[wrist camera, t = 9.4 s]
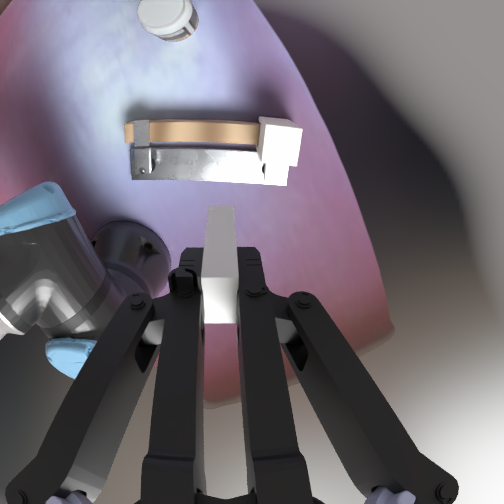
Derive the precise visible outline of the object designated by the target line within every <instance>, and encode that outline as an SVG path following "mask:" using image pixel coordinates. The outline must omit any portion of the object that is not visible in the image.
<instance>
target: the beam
mask: <svg viewBox="0 0 504 504" xmlns="http://www.w3.org/2000/svg"><path fill="white" fill-rule="evenodd" d="M124 126H125V143H129V142H134V121H131V122H128V123H126V124H124ZM260 126H261V123H256V122H244V121H228V120H203V119H162V120H150V142H161V141H189V142H221V143H239V144H253V145H258V144H259V135H260Z"/></svg>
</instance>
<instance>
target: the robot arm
mask: <svg viewBox="0 0 504 504" xmlns="http://www.w3.org/2000/svg"><path fill="white" fill-rule="evenodd" d="M170 271H171V258H170V254H169V251H168V249H167V247H166V246H165V244H164V243H163V241H162V240H161V239H160V238H159V237H158V236H157V235H156V234H155V233H154V232H152V231H151V230H150V229H148V228H146V227H144V226H142V225H140V224H137V223H134V222H128V221H117V222H112V223H109V224H107V225H105V226H103V227H102V228H100V229H99V230H98V231H97V233H96V234H95V235H94V237H93V238H92V240H91V242H90V240H89V238H88V237H87V235H86V233H85V231H84V229H83V228H82V226H81V224H80V222H79V220H78V218H77V216H76V210H75V209H74V208H72V207H71V205H70V203H69V201H68V200H67V198H66V196H65V194H64V192H63V191H62V189H61V187H60V186H59V185H58V184H56V183H55V182H51V181H46V182H43V183H40V184H38V185H36V186H34V187H32V188H30V189H28V190H26V191H24V192H22V193H21V194H19V195H17V196H15V197H13V198H12V199H10V200H8V201H7V202H5V203H3V204H2V205H0V340H1V339H2V337H3V336H4V335H5V334H6V333H13V334H20V335H23V334H24V333H26V332H27V331H28V330H29V328H31V326H32V325H34V324H35V323H36V324H37V325H38V326H39V327H40V328H41V329H42V330H43V331H44V333H45V334H46V335H47V336H48V337H49V341H48V342H47V343H46V355H47V358H48V360H49V362H50V363H51V364H52V365H53V366H54V367H55V368H57V369H58V370H59V371H61V372H62V373H64V374H66V375H67V376H69V377H71V378H74V379H75V381H74V382H73V384H72V386H71V387H70V389H69V391H68V393H67V395H66V397H65V399H64V400H63V402H62V404H61V406H60V408H59V410H58V412H57V414H56V416H55V418H54V420H53V422H52V424H51V426H50V428H49V430H48V432H47V434H46V436H45V438H44V441H43V443H42V445H41V447H40V449H39V452H38V454H37V456H36V457H35V458H34V459H33V460H32V461H31V462H30V463H29V464H28V465H27V466H26V467H25V468H24V469H23V470H22V471H21V472H20V473H19V474H18V475H17V476H16V477H15V478H14V479H13V480H12V481H11V482H10V483H9V484H8V485H7V487H6V492H5V496H6V500H7V502H8V504H93V502H94V501H95V500H96V499H97V497H98V495H99V494H100V492H101V491H102V489H103V486H104V484H105V482H106V480H107V477H108V474H109V472H110V468H111V466H112V464H113V461H114V458H115V456H116V453H117V451H118V448H119V446H120V443H121V441H122V438H123V435H124V433H125V431H126V428H127V426H128V423H129V420H130V418H131V416H132V414H133V411H134V409H135V407H136V404H137V402H138V399H139V397H140V395H141V392H142V390H143V388H144V386H145V383H146V381H147V378H148V376H149V374H150V372H151V370H152V367H153V365H154V363H155V361H156V358H157V356H158V354H159V360H158V367H157V374H156V382H155V390H154V398H153V407H152V417H151V427H150V428H151V429H150V439H149V451H148V454H147V455H146V456H145V457H144V460H143V463H142V475H141V499H140V500H138V501H137V502H136V503H134V504H325V503H323V502H322V501H320V500H318V499H317V498H315V497H312V492H311V487H310V481H309V475H308V470H307V465H306V461H305V459H304V456H303V455H302V454H301V453H300V451H299V447H298V442H297V437H296V431H295V425H294V419H293V414H292V408H291V402H290V397H289V391H288V386H287V380H286V375H285V369H284V364H283V358H282V353H281V347H280V344H281V346H282V348H283V350H284V352H285V354H286V356H287V358H288V360H289V362H290V364H291V366H292V368H293V370H294V372H295V374H296V376H297V378H298V380H299V382H300V384H301V386H302V387H303V389H304V391H305V393H306V395H307V397H308V399H309V401H310V403H311V405H312V406H313V409H314V411H315V413H316V414H317V416H318V418H319V420H320V422H321V424H322V426H323V428H324V430H325V432H326V434H327V435H328V438H329V439H330V441H331V443H332V445H333V447H334V449H335V451H336V453H337V454H338V456H339V458H340V460H341V462H342V464H343V466H344V468H345V469H346V471H347V473H348V475H349V477H350V478H351V480H352V482H353V483H354V485H355V486H356V487H357V489H358V490H359V491H360V492H361V493H362V494H363V495H364V496H365V497H366V498H367V500H366V501H365V503H364V504H452V503H453V502H454V501H455V500H456V497H457V495H458V490H459V486H458V483H457V480H456V479H455V478H454V477H453V476H452V475H450V474H449V473H448V472H446V471H444V470H443V469H442V468H441V467H439V466H438V465H436V464H435V463H434V462H432V461H431V460H430V459H428V458H427V457H426V456H424V455H423V454H422V453H420V452H419V451H418V449H417V447H416V446H415V444H414V442H413V441H412V439H411V438H410V436H409V435H408V433H407V431H406V430H405V428H404V427H403V425H402V423H401V422H400V420H399V419H398V417H397V416H396V414H395V413H394V411H393V409H392V408H391V406H390V405H389V403H388V402H387V401H386V399H385V397H384V396H383V394H382V393H381V391H380V390H379V388H378V387H377V385H376V384H375V382H374V381H373V379H372V377H371V376H370V375H369V373H368V372H367V370H366V369H365V367H364V366H363V364H362V363H361V361H360V360H359V358H358V357H357V355H356V354H355V352H354V351H353V349H352V348H351V346H350V345H349V343H348V342H347V340H346V339H345V338H344V336H343V335H342V333H341V332H340V330H339V329H338V327H337V326H336V324H335V323H334V322H333V320H332V319H331V317H330V316H329V314H328V313H327V312H326V310H325V309H324V307H323V306H322V304H321V303H320V302H319V300H318V299H317V298H316V297H315V296H314V295H312V294H310V293H308V292H303V291H301V292H295V293H293V294H291V295H290V296H289V298H287V297H282V296H278V295H276V294H274V293H272V292H271V291H269V288H268V287H267V286H266V283H265V278H264V272H263V267H262V261H261V256H260V252H259V251H258V250H257V249H256V248H255V247H237V245H236V230H235V214H234V206H209V208H208V216H207V225H206V233H205V242H204V248H186V249H185V250H184V251H183V252H182V253H181V257H180V262H179V267H178V268H176V269H174V270H172V271H171V272H170ZM167 282H169V288H170V293H169V294H167V295H165V296H162V297H158V298H156V297H157V296H158V295H159V293H160V292H161V291H162V290H163V289H164V287H165V286H166V284H167ZM204 322H205V323H237V342H238V357H239V373H240V388H241V402H242V415H243V428H244V441H245V452H246V465H247V485H248V494H247V495H243V496H239V497H235V498H231V499H220V498H215V497H211V496H207V495H206V480H205V473H204V441H203V440H204V439H203V438H204V434H203V392H204V345H205V328H204ZM159 352H160V353H159Z"/></svg>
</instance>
